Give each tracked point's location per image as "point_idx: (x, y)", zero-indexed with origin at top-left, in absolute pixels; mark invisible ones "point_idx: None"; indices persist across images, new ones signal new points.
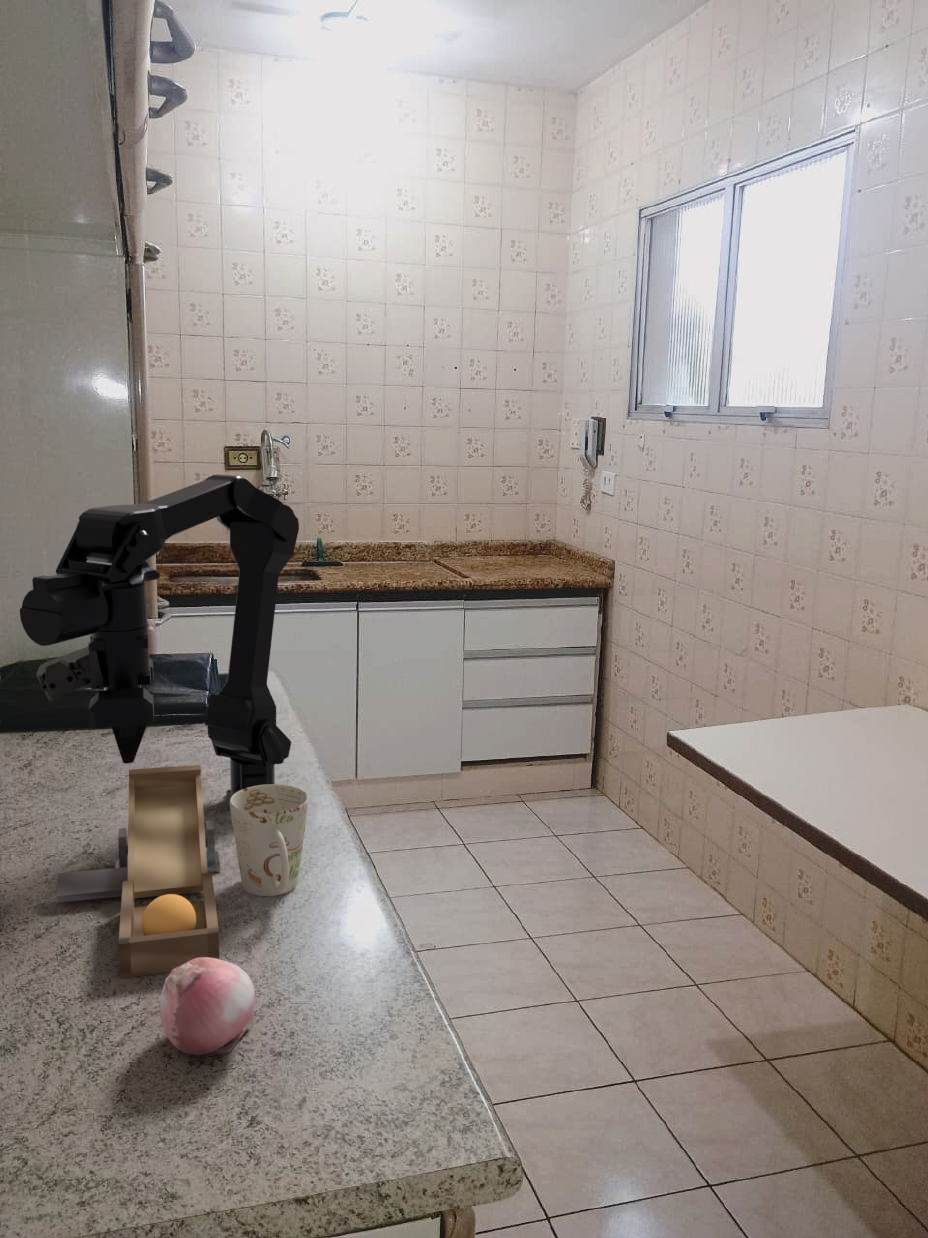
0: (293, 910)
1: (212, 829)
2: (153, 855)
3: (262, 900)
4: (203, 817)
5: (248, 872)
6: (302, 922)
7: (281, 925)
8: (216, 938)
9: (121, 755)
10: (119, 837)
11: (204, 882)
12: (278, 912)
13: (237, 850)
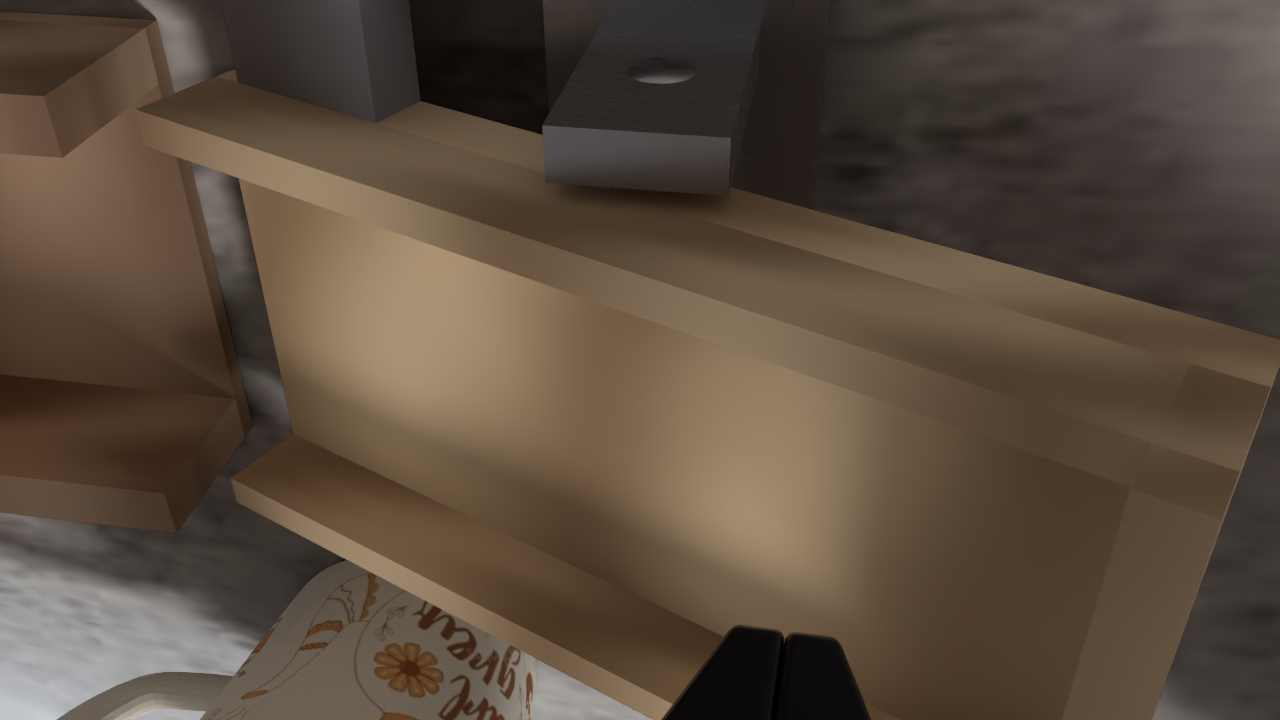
0: (181, 658)
1: None
2: (458, 292)
3: (268, 591)
4: (591, 685)
5: (264, 646)
6: (89, 659)
7: (63, 601)
8: None
9: (677, 708)
10: (545, 135)
11: (58, 489)
12: (165, 615)
13: (278, 697)
